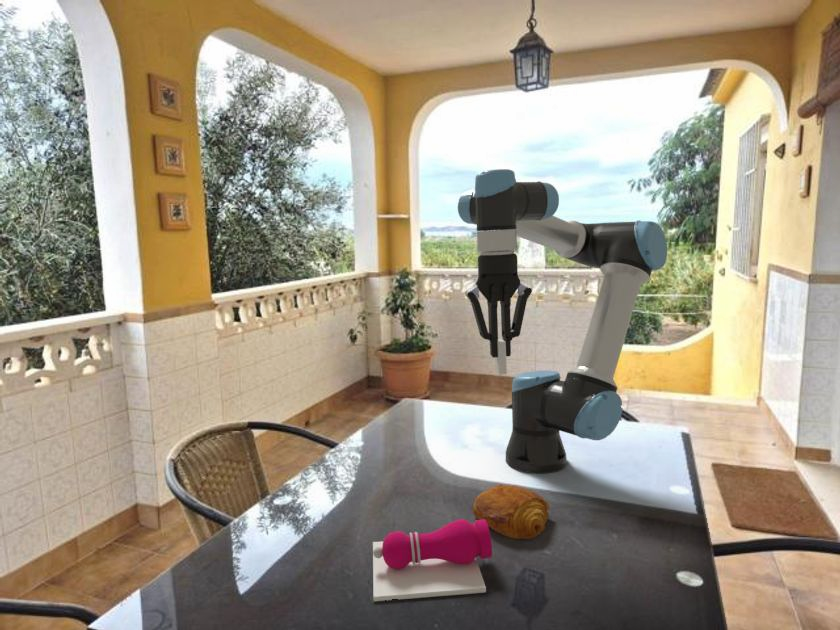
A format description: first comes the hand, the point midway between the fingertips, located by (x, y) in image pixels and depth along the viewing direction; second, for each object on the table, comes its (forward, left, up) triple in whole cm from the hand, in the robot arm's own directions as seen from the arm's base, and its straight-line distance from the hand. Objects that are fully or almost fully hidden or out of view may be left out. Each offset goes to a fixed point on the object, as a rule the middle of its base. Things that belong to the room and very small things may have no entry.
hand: (501, 372), depth 108 cm
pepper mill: (+6, +16, -25) cm, 31 cm away
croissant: (-2, +3, -31) cm, 31 cm away
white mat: (+17, +16, -30) cm, 38 cm away
